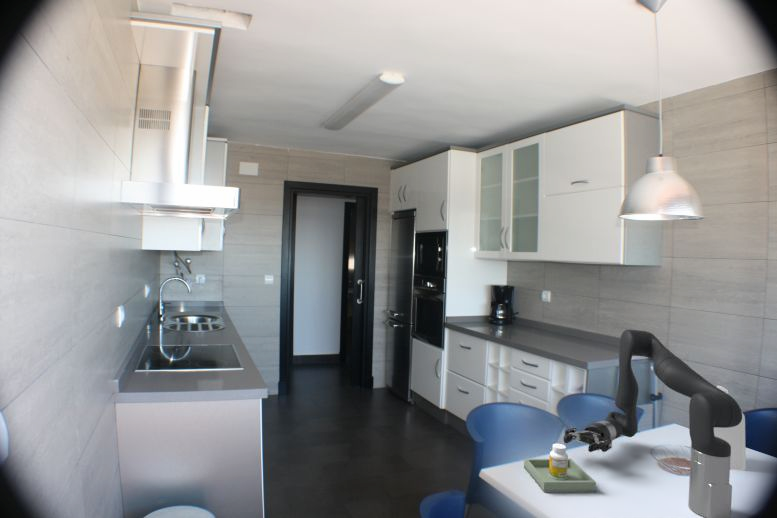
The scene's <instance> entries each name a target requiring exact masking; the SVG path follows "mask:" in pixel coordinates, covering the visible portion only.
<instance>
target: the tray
mask: <svg viewBox="0 0 777 518" xmlns="http://www.w3.org/2000/svg"><path fill="white" fill-rule="evenodd" d="M549 462H550V458H524V459H523V469H524V470H525V471H526V472H527V474H530V475H529V476H530V477H531V479H534V480H535V481H534V480H533V481H534V483H536V485H537V484H538V485H537V486H538V487H539V488H540V490H541V491H542V490H543V491H542V492H543V493H596V492H597V491H596V490H597V482H596V481H595V480H594V479H593V478H592V477H591V476H590V475H589V474H588V473H587V472H586V471H584V469H583V468H582V467H580V465H578V464H577V463H576V462H575V461H574V460H573V459H572V458H568V468H567V478H566V479H565V480H557V479H554V478H552V477H551V476H550V475H549Z"/></svg>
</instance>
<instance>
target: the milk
mask: <svg viewBox="0 0 777 518" xmlns="http://www.w3.org/2000/svg"><path fill="white" fill-rule="evenodd" d="M716 387H717V388H719V389H721V390H722V391H724V392H725V393H727V394H729V395H730V393H729V390H728V389H727V388H725V387H724V386H722V385H717V386H716ZM714 436H716V437H718V438H721V439H723V440H725V441H726V442H728V443H729V444H730V446H731V458H730V470H734V471H735V470H737V471H743V472H744V471H747V470H746V469H747V468H746V467H747V465H746V463H747V462H746V461H747V460H746V417H745V414H744V413H743V412H742V420H741V422H740V423H739V424H738V425H737V426H735V427H728V428H718V427H714Z"/></svg>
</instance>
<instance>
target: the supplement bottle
mask: <svg viewBox="0 0 777 518" xmlns="http://www.w3.org/2000/svg"><path fill="white" fill-rule="evenodd" d="M549 459H550V462H549V475H550V476H551V477H552V478H554V479H557V480H565V479H566V478H567V468H568V459H569V457H568V453H567V446H566V445H564V444H561V443H553V444H552V450H551V451H550V453H549Z"/></svg>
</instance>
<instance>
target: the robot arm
mask: <svg viewBox="0 0 777 518" xmlns="http://www.w3.org/2000/svg"><path fill="white" fill-rule="evenodd" d="M618 349H619V350H618V382H617V389H616V394H615V402H614V406H616V408H618V409H619V410H620V411H622V412H623V413H624V414H623V413H620V412H618V411H611V412H609V413H608V414H607V417H606V418H605V419H604V420H599V421H597V422H595V423H592V424H589V425H588V426H586V427H585V428H584V429H583V430H581V431H580V430H579V431H578V430H577V428H576V427H572V428H569V429H565V430H564V436H563V443H565V444H569V443H571V442H576V443H584V444H587V445H588V453H593V452H596V451H600V450H601V452H603V453H605V452H607V451H610V449H613V448H612V447H613V446H612V445H613V441H614V440H616V439H618V438H620V437H621V436H624V437H627V438H632V437H634V436H635V435H636V434H637V432H638V428H639V427H638V426H639V425H638V418H637V417H638V416H637V403H638V397H639V384H638V381H637V379H636V376H635V373H634V371H633V369H632V359H633V356H635V357H637V356H638V357H644V358H648V359H650V360H651V361H652V362H653V364H652V367H653V369H652V370H653V372H654V374H655V375H654V376H655V377H657V379H658V380H660V382H662V383H663V384H664V385H665V386H666V387H667V388H669V389H670V390H673V391H674V392H676V393H678V394H681V395H682V396H685V397H688V398H690V400H689V406H688V407H689V409H688V413H689V414H688V417H689V436H690V437H689V438H690V440H691V441H690V442H691V445H690V459H689V460H690V462H689V485H688V486H689V487H688V508H689V509H690V511H692V512H693V513H695V514H697V515H699V516H701V517H704V518H731V516H732V499H733V497H732V496H733V495H732V494H733V486H732V484H731V483H730V479H731V478H730V477H731V476H730V475H731V469H730V458H731V446H730V444H729V443H728V442H726V441H725V440H723V439H721V438H718V437H716V436H714V427H718V428H728V427H735V426H737V425H738V424H739V423H740V422H741V420H742V413H743V412H742V409H741V407H740V405H739V404H738V402H737V400H736V399H735V398H734V397H732V396H731V395H730V393H729V394H727V393H725V392H724V391H722V390H721V389H719V388H717V386H715V385H714V384H712V383H711V382H709V381H708V380H707V379H706V378H705V377H703V376H701V375H700V374H699V373H698V372H696V371H695V370H694V369H693V368H691V366H689V365H688V364H687V363H686V362H685V361H683V360H682V359H681V358H679V357H678V356H676V354H674V353H673V352H672V351H671V350H670V349H668V348H667V347H666V346H665V345H664V344H663V343H662V342H661V340H659V338H657V336H656V335H654V334H653V333H651V332H649V331H644V330H639V329H638V330H637V329H625V330H624V331H623V332H622V333H621V335H620V338H619V348H618Z"/></svg>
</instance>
